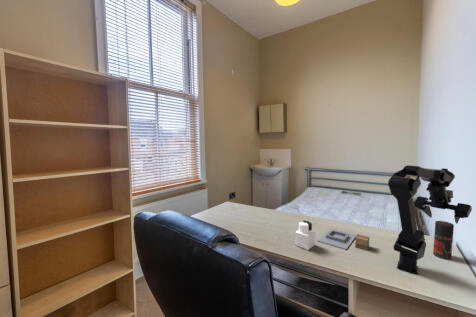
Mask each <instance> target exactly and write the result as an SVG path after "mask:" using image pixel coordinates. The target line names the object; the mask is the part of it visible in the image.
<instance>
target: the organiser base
mask: <svg viewBox="0 0 476 317" xmlns="http://www.w3.org/2000/svg"><path fill="white" fill-rule="evenodd" d="M357 235H358V234H356V233H352V232H349V231H343V230H340V229H337V228H332V227H329V229H327V231H326V232H324V234H322V235H321V236H320V237H319V238H318V239H317V240H316V241H317V243H318V242H319V243H321V244H322V243H323V244H325V245H328V246H331V247H335V248H339V249H342V250H348V248H349V247H350V246H351V244H352V243H353V242H354V241H355V238H356V236H357Z"/></svg>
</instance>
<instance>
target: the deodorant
mask: <svg viewBox="0 0 476 317" xmlns="http://www.w3.org/2000/svg"><path fill="white" fill-rule="evenodd" d="M454 228H455V224H453V223H452V222H448V221H445V220H435V223H434V234H433V235H434V237H433V238H434V239H433V249H432V251H433V252H432V254H433V256H435V257H436V258H439V259H441V260H449V261H450V260H452V253H453V242H454Z"/></svg>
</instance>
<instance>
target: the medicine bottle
mask: <svg viewBox="0 0 476 317" xmlns="http://www.w3.org/2000/svg"><path fill="white" fill-rule="evenodd" d="M312 229H313V224H312V222H311V221H309V220H300V221H299V222H298V230H296V231H295V232H294V233H295V234H294V236H295V238H294V242H295V243H294V244H295V246H297V247H299V248H301V249H304V250H307V251H309V250H310V249H311V248H313V247H314V246H316V231H315V230H312Z"/></svg>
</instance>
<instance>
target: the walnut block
mask: <svg viewBox="0 0 476 317" xmlns="http://www.w3.org/2000/svg"><path fill="white" fill-rule="evenodd" d="M356 235H357V236H356V237H355V239H354V241H355V242H354V245H355V246H354V247H355V248H357V249H360V250H363V251H368V249H369V248H370V236H367V235H364V234H356Z"/></svg>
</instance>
